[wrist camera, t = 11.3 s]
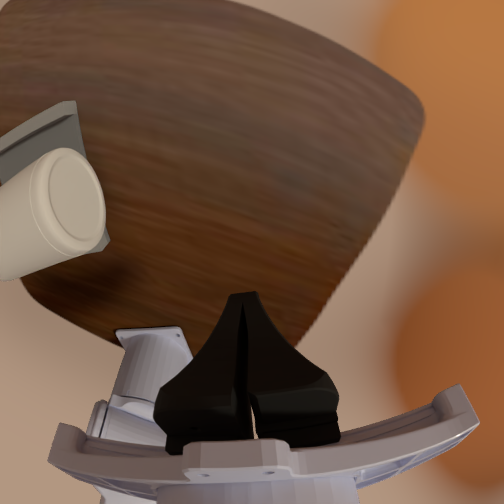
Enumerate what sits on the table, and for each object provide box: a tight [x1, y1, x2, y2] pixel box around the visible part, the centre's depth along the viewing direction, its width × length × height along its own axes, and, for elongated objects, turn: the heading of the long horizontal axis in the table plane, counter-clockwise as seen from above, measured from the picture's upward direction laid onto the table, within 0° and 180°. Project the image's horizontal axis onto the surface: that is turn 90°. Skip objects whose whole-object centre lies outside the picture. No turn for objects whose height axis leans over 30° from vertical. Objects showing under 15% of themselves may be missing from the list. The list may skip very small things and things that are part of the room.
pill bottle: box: [0, 148, 106, 281], centre depth 17 cm, size 8×8×15 cm
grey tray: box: [0, 101, 110, 254], centre depth 19 cm, size 13×12×2 cm
